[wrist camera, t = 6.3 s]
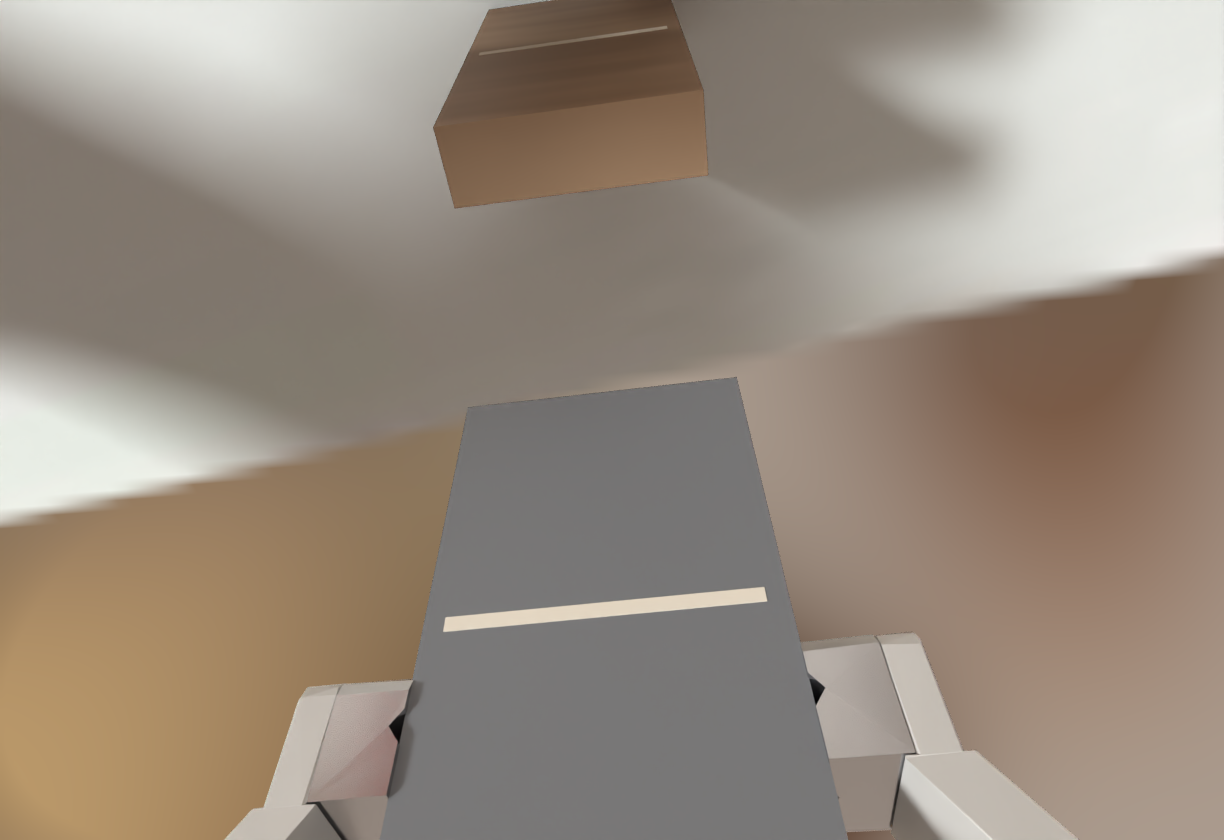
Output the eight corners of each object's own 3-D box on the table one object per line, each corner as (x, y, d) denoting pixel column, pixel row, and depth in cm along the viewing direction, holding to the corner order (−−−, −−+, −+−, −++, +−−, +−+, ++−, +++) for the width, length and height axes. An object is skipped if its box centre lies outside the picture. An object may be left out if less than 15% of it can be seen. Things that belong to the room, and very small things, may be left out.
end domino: (739, 444, 16) (884, 1102, 8) (487, 471, 16) (382, 1129, 8) (736, 376, 15) (900, 1053, 7) (468, 407, 15) (328, 1087, 7)
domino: (670, 45, 23) (708, 175, 16) (501, 69, 24) (454, 208, 16) (665, -17, 22) (703, 89, 15) (488, 9, 23) (433, 126, 15)
